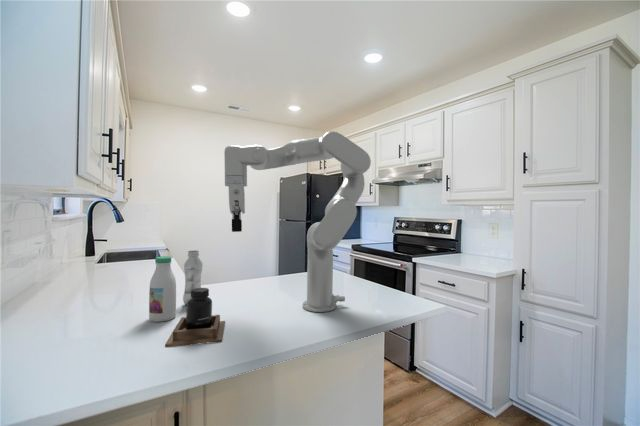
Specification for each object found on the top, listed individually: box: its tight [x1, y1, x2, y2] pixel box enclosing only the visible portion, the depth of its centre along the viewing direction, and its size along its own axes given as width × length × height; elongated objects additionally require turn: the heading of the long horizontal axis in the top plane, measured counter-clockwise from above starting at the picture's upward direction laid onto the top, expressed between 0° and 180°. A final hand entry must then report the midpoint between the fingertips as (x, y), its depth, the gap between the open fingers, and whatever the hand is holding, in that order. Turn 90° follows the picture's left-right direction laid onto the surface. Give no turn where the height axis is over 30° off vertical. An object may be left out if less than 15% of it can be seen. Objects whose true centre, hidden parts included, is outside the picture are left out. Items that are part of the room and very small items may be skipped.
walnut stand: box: [164, 314, 226, 348], centre depth 85 cm, size 14×14×3 cm
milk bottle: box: [148, 255, 177, 323], centre depth 97 cm, size 8×8×20 cm
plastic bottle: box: [182, 250, 203, 306], centre depth 111 cm, size 6×7×20 cm
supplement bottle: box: [185, 287, 213, 330], centre depth 86 cm, size 7×7×12 cm
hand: (236, 230), depth 104 cm, fingers open, 9 cm apart
